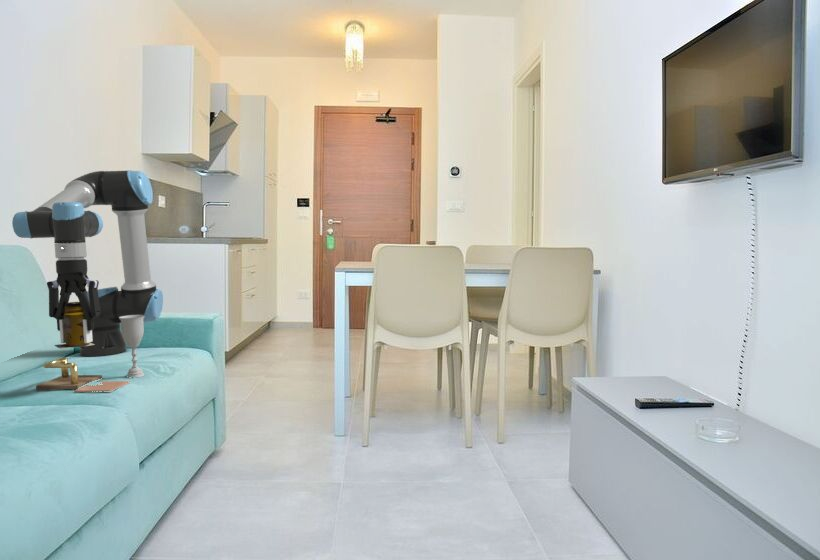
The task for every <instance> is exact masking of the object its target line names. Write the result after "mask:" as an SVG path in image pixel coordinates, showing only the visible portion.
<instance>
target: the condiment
mask: <svg viewBox="0 0 820 560" xmlns="http://www.w3.org/2000/svg"><path fill="white" fill-rule="evenodd" d="M84 318H85V315H84V313H83V310H82V307H81V305H80V302H79V301H69V302H68V303H66V304H65V313H64V326H65V341H66V343H60V344H54V347H55V348H58V349H60V350H65V349H71V348H73V349H74V348H80V347H83V346H89V345H95V344H92V343H90V342H89V343H84V332H83V320H84Z"/></svg>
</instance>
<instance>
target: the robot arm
mask: <svg viewBox="0 0 820 560" xmlns="http://www.w3.org/2000/svg"><path fill="white" fill-rule="evenodd" d="M153 192H154V191H153V188H152V184H151V181H150V179H149V177H148V175H147V174H145V172H143V171H139V170H131V169H130V170H97V171H92V172H88V173H86V174H84V175H81V176H79V177H76V178H74V179H73V180H71V181H69V182H68V183H67V184H66V185H65V186H64V190H62V191H60V192H59V193H58V194H56V195H54V197H51V198H50V199H49V200H47V201H45V202H44V203H43V204H41V205H39V206H38V207H37V208H35V209H34V210H32V211H28V210H25V211H19V212H18V211H17V212H16V213H15V214H14V215H13V217H12V222H11V223H12V229H13V232H14V234H15V235H16V236H17V237H19V238H21V239H23V238H24V239H25V238H26V239H42V238H43V239H47V238H51V239H52V238H53V239H54V253H55V254H54V256H55V258H56V261H55V272H56V274H57V277H56V280H52V281H47V282H46V285H47V288H48V289H47V290H48V316H49V317H50V318H53V319H56V327H57V331H58V332H59V335H60V344H66V341H65V326H64V313H65V304H66V303H69V302H70V299H71V295H72V293H73V294H74V295H75V296H76V297H77V298H78V302H80V305H81V307H82V310H83V313H84V315H85V318H84V320H83V332H84V343H89V342H90V343H92V344H95V345H89V346H83V347H79V354H80V356H82V357H102V356H110V355H116V354H121V353H124V352H126V351H127V343H126V341H125V340H124V338H123V335H122V331H121V320H120V319H119V317H121V316H128V315H145V317H144V319H143V323H144V324H145V323H151V322H157V320H158V319H159V318H160V316H161V313H162V310H163V305H164V294H163V291H162V290H161V289H159V288H157V283H156V282H154V281H153V280H152V279H151V270H150V268H151V267H150V260H149V259H150V257H149V250H148V248H149V247H148V239H147V231H146V219H145V214H146V213H147V211H148V210H149V205H151V204H152V203H153V200H154V198H153V197H154V193H153ZM91 206H111V211H112V213H114V214H115V215H116V216H117V223H118V225H117V226H118V233H119V240H120V241H119V242H120V250H121V257H122V258H121V260H122V269H123V278H124V282H123V284H122V285H121V286H120V290H119V288H118V287H117V286H110V287H104V288H99V280H96V279H95V280H92V279H90V278H89V277H88V260H87V259H85V258H87V244H86V243H87V242H86V238H92V237H95V236H98V235H99V234H100V233H101V232H102V230H103V227H104V220H103V219H102V217H101V216H100V215H99V213H96V212H94V211H92V210H84V209H87V208H89V207H91ZM59 287H60V290H59ZM86 287H87V288H88V290H87V288H86Z"/></svg>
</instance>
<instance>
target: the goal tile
mask: <svg viewBox="0 0 820 560" xmlns="http://www.w3.org/2000/svg"><path fill="white" fill-rule="evenodd" d="M98 382H102V384H103V385H98V384H97V385H96V386H95V385H94V386H93V385H92V386H91V385H90V386H89V385H86V386H84V387H81V388H79V389H77V390H73V391H74V393H75V392H92V391H93V392H94V391H95V392H96V391H98V392H99V391H102V392H104V391H112V390H114V389H116V388H118V387H121V386H123V385H125V386H127V385H129V384H130V380H129V381H128V380H127V381H125V380H124V381H121V380H120V381H119V380H118V381H117V380H116V381H115V380H112V381H111V380H110V381H108V380H107V381H106V380H105V381H104V380H99V381H98ZM100 384H101V383H100ZM126 384H127V385H126ZM123 387H124V386H123ZM121 388H122V387H121ZM112 392H113V391H112Z"/></svg>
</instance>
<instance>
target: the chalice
mask: <svg viewBox="0 0 820 560" xmlns="http://www.w3.org/2000/svg"><path fill="white" fill-rule="evenodd" d="M144 317H145V315H128V316H121V317H119V319H120V320H121V323H120V331H121V333H122V335H123V338H124V340H125V343H126V346H128V347H130V348H131V349H132V350H131V357H132V358H131V362H132V367H131V368H129V369H128V371H127V374H126V376H128V377H137V378H141V377H144V376H145V374H144V372H143V369H142V368H141V367H140V366H138V363H137V361H138V358H137V355H138V353H137V347H139V346H140V343H141V342H142V340H143V336H144V334H145V329H144V328H145V326H144V324H145V323H144V322H143V319H144Z"/></svg>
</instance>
